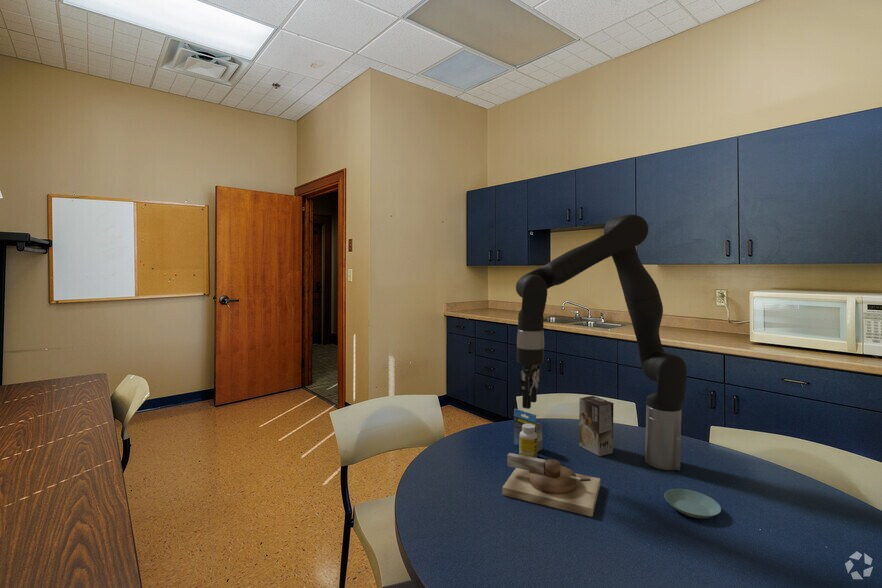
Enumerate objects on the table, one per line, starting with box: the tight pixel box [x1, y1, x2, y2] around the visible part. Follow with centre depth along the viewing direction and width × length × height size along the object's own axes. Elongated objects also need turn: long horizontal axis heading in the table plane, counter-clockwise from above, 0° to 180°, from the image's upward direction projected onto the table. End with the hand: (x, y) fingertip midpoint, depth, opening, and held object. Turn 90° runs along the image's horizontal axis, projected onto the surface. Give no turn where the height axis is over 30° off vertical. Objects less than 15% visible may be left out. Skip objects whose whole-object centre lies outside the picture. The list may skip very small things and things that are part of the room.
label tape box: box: [513, 408, 543, 453], centre depth 139 cm, size 9×4×12 cm, turn 43°
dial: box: [506, 452, 581, 493], centre depth 113 cm, size 19×12×5 cm, turn 63°
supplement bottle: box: [518, 424, 538, 458], centre depth 132 cm, size 5×5×10 cm
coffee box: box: [578, 395, 615, 457], centre depth 137 cm, size 9×6×16 cm
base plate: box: [501, 468, 601, 518], centre depth 112 cm, size 22×16×2 cm
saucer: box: [663, 488, 722, 519], centre depth 103 cm, size 12×12×2 cm
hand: (529, 404), depth 121 cm, fingers open, 5 cm apart
